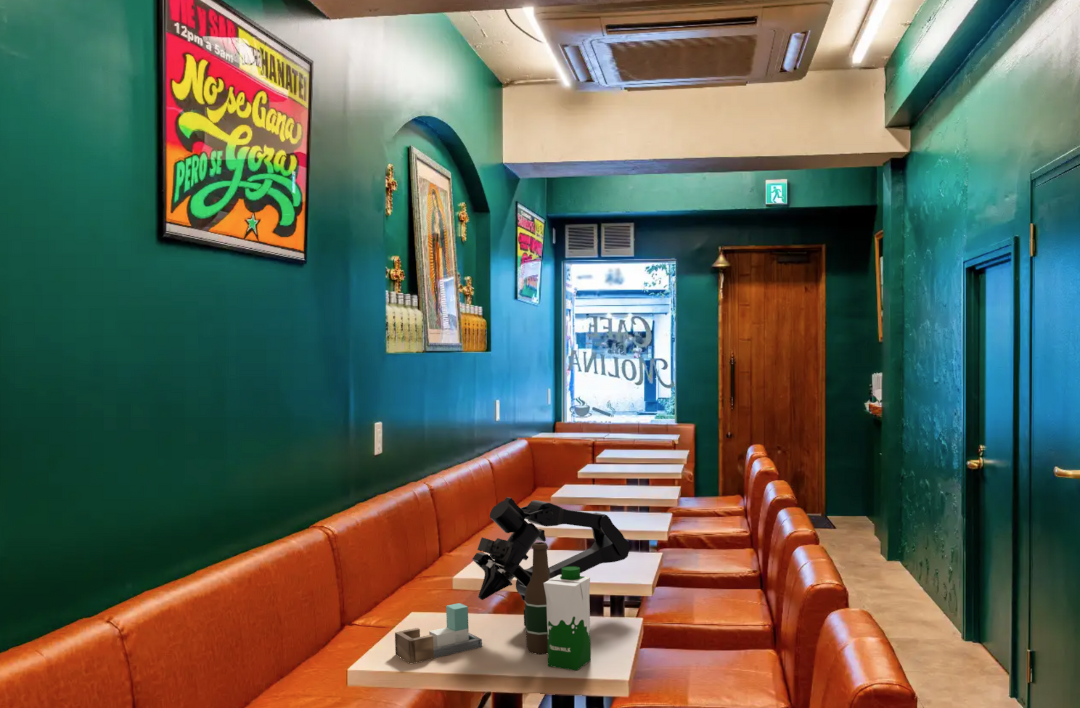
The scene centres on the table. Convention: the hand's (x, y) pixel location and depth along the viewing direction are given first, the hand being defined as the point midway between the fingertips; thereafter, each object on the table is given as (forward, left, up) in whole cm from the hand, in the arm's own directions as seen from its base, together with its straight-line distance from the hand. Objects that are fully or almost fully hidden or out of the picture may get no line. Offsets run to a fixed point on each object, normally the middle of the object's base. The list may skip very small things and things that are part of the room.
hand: (480, 598), depth 206 cm
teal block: (+6, +6, -10) cm, 13 cm away
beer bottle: (-15, +5, -10) cm, 19 cm away
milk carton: (-22, +14, -10) cm, 28 cm away
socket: (+13, +12, -10) cm, 20 cm away
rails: (+6, +5, -10) cm, 12 cm away
